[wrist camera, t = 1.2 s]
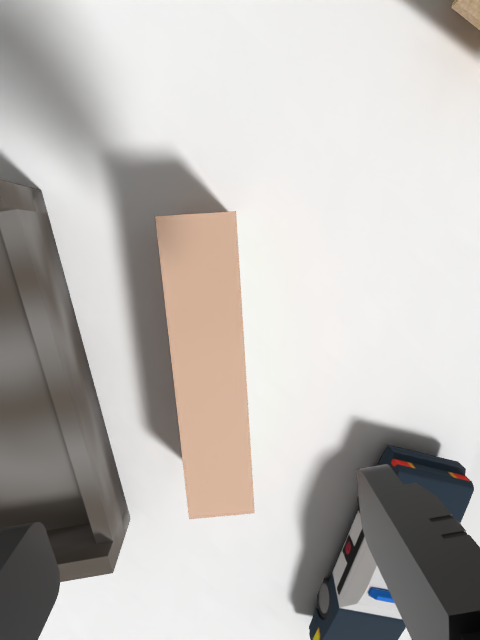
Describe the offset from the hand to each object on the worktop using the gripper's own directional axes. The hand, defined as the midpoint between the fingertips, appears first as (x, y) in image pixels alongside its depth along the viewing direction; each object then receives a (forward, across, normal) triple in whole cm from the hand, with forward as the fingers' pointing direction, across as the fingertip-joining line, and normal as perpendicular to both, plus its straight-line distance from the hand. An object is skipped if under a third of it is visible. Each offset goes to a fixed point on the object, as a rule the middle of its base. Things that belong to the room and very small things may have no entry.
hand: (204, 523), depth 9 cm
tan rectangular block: (+13, 0, 0) cm, 13 cm away
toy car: (+14, -9, +16) cm, 23 cm away
